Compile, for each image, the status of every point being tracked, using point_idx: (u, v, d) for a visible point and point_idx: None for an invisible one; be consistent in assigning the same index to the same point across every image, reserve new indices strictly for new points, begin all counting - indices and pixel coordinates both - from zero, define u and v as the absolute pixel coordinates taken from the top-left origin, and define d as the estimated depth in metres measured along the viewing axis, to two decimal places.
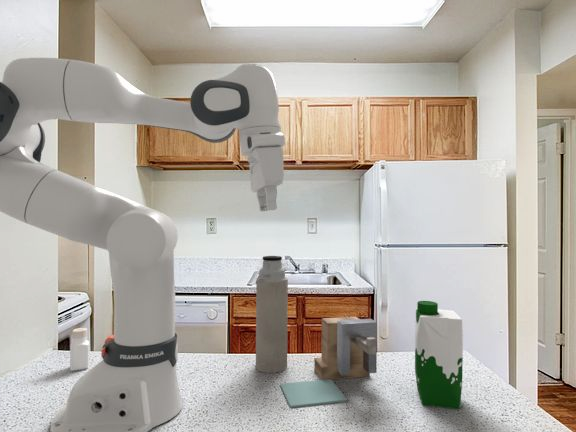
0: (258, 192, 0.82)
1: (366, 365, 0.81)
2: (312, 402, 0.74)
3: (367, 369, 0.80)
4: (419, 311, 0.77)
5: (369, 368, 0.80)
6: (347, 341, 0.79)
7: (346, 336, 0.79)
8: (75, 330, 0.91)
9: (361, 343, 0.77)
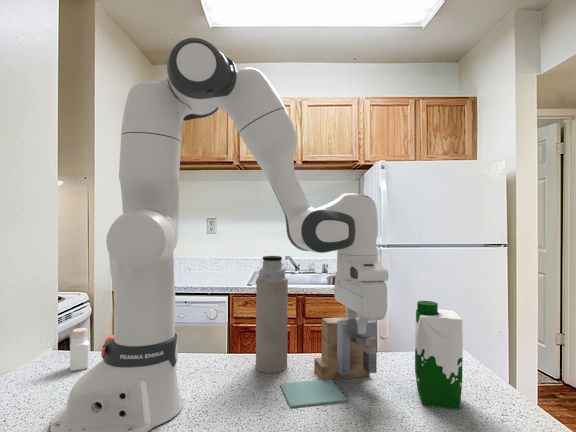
0: (348, 307, 0.83)
1: (366, 365, 0.81)
2: (312, 402, 0.74)
3: (367, 369, 0.80)
4: (419, 311, 0.77)
5: (369, 368, 0.80)
6: (347, 341, 0.79)
7: (346, 336, 0.79)
8: (75, 330, 0.91)
9: (361, 343, 0.77)
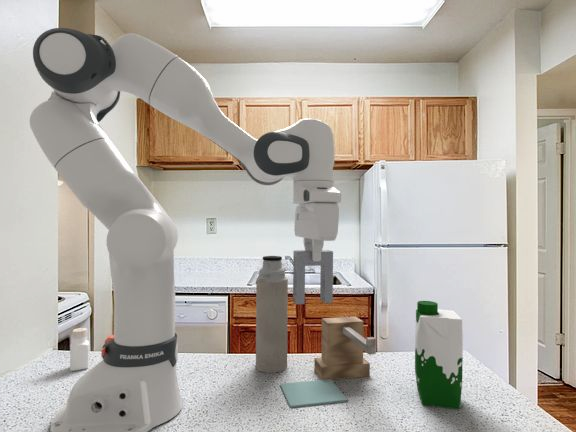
0: (306, 239, 0.82)
1: (322, 296, 0.79)
2: (312, 402, 0.74)
3: (323, 299, 0.79)
4: (419, 311, 0.77)
5: (324, 297, 0.78)
6: (302, 269, 0.77)
7: (301, 264, 0.77)
8: (75, 330, 0.91)
9: (361, 343, 0.77)
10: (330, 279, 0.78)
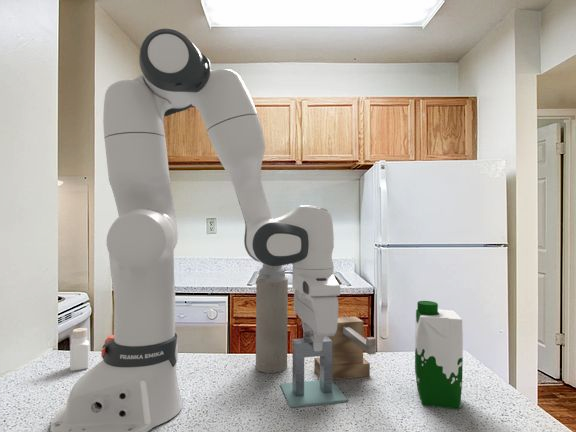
0: None
1: (322, 385, 0.79)
2: (312, 402, 0.74)
3: (323, 389, 0.79)
4: (419, 311, 0.77)
5: (324, 388, 0.78)
6: (301, 361, 0.77)
7: (300, 356, 0.77)
8: (75, 330, 0.91)
9: (361, 343, 0.77)
10: (329, 369, 0.78)
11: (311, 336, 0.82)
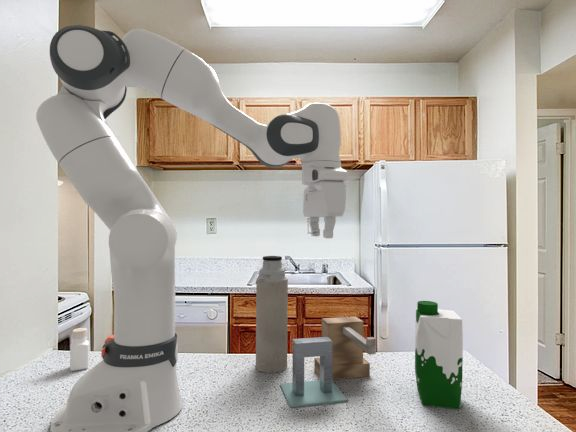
0: (311, 218, 0.88)
1: (322, 385, 0.79)
2: (312, 402, 0.74)
3: (323, 389, 0.79)
4: (419, 311, 0.77)
5: (324, 388, 0.78)
6: (301, 361, 0.77)
7: (300, 356, 0.77)
8: (75, 330, 0.91)
9: (361, 343, 0.77)
10: (329, 369, 0.78)
11: (318, 232, 0.88)
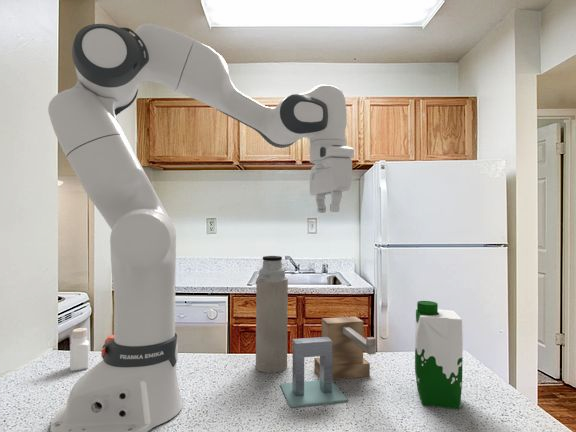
0: (318, 195, 0.93)
1: (322, 385, 0.79)
2: (312, 402, 0.74)
3: (323, 389, 0.79)
4: (419, 311, 0.77)
5: (324, 388, 0.78)
6: (301, 361, 0.77)
7: (300, 356, 0.77)
8: (75, 330, 0.91)
9: (361, 343, 0.77)
10: (329, 369, 0.78)
11: (324, 209, 0.93)
